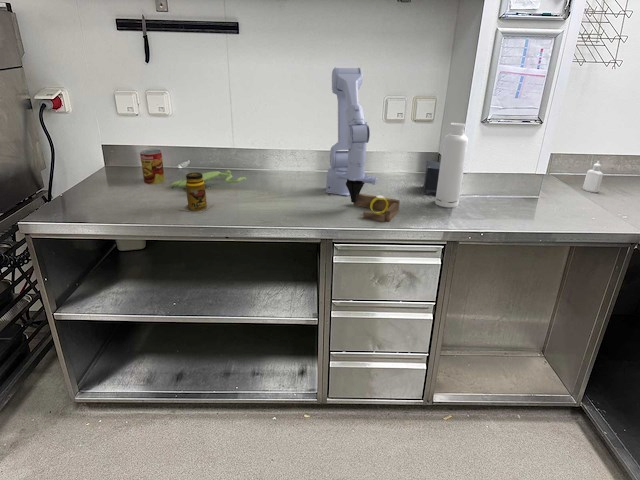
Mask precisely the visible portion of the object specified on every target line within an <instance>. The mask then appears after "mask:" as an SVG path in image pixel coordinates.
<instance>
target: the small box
mask: <svg viewBox="0 0 640 480" xmlns="http://www.w3.org/2000/svg"><path fill="white" fill-rule="evenodd" d="M440 163H441V161H432V160H430V161H429V160H426V164H425V165H426V167H425V173H424V181H423V190H422V192H423V194H424V195H431V196H432V195H433V196H436V192H437V185H438V177H439V170H440Z"/></svg>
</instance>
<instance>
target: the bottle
mask: <svg viewBox="0 0 640 480" xmlns="http://www.w3.org/2000/svg"><path fill="white" fill-rule="evenodd" d="M466 124H467V123H462V122H450V131H449V133H448V134H446V135H445V136H444V138H443V141H442V147H441V148H442V149H441V156H440V157H441V158H440V162H441V163H440V170H439V177H438V185H437V192H436V195H435V200H434V203H435V204H436V205H437V206H440V207H443V208H456V207H458V206H459V202H460V201H459V200H460V197H461V195H460V194H461V189H462V183H463V177H464V170H465V164H466V157H467V151H468V145H469V138H468V137H467V135H466V134H465V127H466Z"/></svg>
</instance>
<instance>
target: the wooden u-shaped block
mask: <svg viewBox="0 0 640 480" xmlns="http://www.w3.org/2000/svg"><path fill="white" fill-rule="evenodd" d="M376 196H377V195H371V194H366V193H365V194H364V193H359V196H358V200H357V202H356V203H353V202H352V204H353V206H358V207H361V208H363V207H364V208H370V203H371V201H372V200H373V199H374V198H376ZM384 198H385V199H386V200H387V202H388V209H387V210H386V212H385V213H383V214H377V213H373V212H372V211H364V212H363V216H362V217H363V219H367V220H372V221H377V222H391V220H392V219H394V218H395V216H396V215H397V214H398V213H399V212H400V202H401V201H400V199H394V198H390V197H389V198H388V197H384ZM385 207H386V201H385V200H384V199H383V200H378V199H377V200H376V201H375V202H374V203H373V206H372V209H373V210H374V209H375V210H380V211H383V210H384V209H385ZM370 209H371V208H370Z"/></svg>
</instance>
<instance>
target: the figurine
mask: <svg viewBox="0 0 640 480" xmlns="http://www.w3.org/2000/svg"><path fill="white" fill-rule="evenodd" d="M201 174H202V175H203V181H204V183H205V186H206V185H207V186H208V184H207V183H206V182H208V181H211V180H213V179H215V178H217V177H219V178H220V179H221V178H222V179H225V180H224V181H225V183H227V184H236V183H237V184H238V183H239V182H241V181H247V177H246V176H241V177H237V179H235V180H234V179H233V180H231V179H232V178H233V175H232V172H231V170H228V169H227V170H226V171H225V172H221V171H218V170H217V171H209V172H204V173H201ZM225 177H226V178H225ZM186 182H187V181H186V179H182V178H180V179H179V180H177V181H174V182H172V183H170V187H172V188H174V187H176V186H178V187H181V188H182V187H185V188H186Z"/></svg>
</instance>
